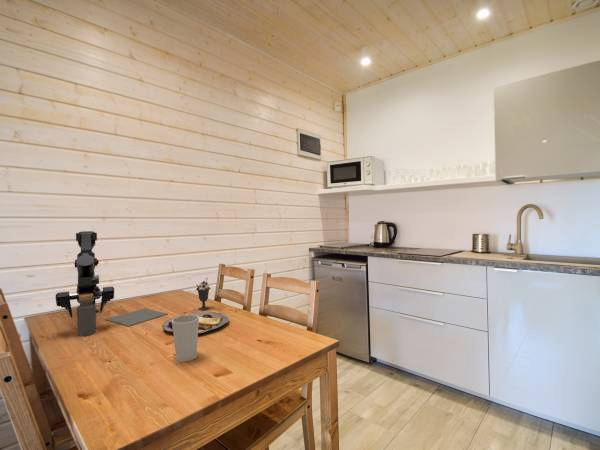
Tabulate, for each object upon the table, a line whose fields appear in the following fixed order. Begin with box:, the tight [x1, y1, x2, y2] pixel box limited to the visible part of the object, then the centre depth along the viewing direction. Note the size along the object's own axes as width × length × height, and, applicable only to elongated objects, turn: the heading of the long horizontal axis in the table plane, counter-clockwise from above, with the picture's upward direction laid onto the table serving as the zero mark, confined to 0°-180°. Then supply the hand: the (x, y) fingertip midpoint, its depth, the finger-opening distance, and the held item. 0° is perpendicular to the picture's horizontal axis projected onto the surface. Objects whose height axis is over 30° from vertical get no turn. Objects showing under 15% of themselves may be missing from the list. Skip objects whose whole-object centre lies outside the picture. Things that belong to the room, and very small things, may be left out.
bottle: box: [76, 293, 97, 337], centre depth 116 cm, size 6×6×15 cm
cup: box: [171, 314, 199, 362], centre depth 94 cm, size 8×8×12 cm
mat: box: [104, 307, 169, 328], centre depth 135 cm, size 18×18×1 cm
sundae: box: [195, 277, 211, 311], centre depth 146 cm, size 7×7×15 cm
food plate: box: [162, 311, 230, 334], centre depth 123 cm, size 25×23×4 cm
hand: (86, 314), depth 115 cm, fingers open, 9 cm apart
